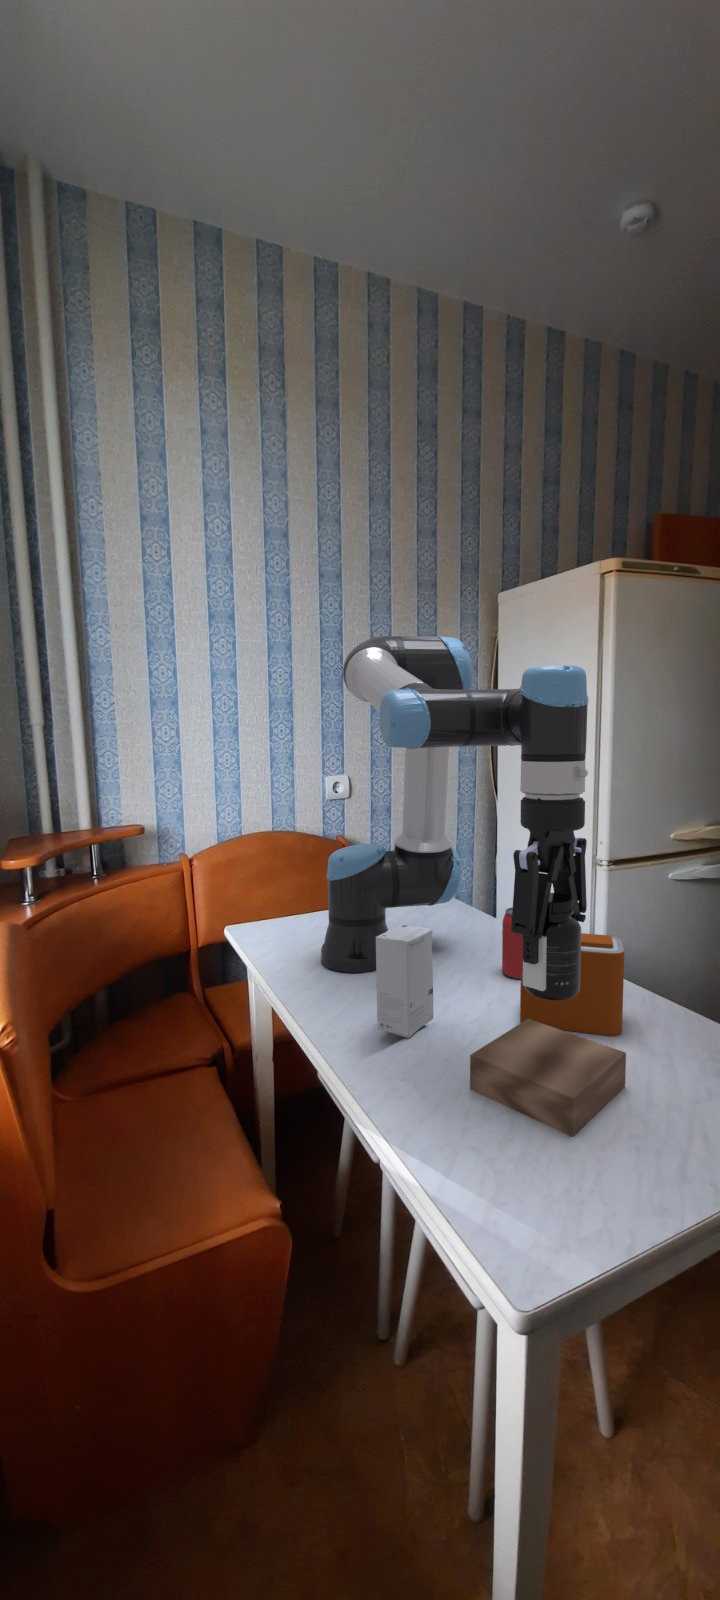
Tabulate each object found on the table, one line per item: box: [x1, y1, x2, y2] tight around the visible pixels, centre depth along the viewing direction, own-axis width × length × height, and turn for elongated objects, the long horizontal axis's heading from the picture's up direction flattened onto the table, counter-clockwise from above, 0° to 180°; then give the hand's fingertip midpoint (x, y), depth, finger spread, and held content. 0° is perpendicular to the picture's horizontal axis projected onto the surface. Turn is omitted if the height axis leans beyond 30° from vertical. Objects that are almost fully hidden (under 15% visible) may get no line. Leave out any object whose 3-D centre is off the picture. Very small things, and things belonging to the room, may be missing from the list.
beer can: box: [501, 906, 523, 980], centre depth 120 cm, size 7×7×12 cm
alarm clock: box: [519, 932, 625, 1037], centre depth 101 cm, size 15×8×14 cm, turn 72°
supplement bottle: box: [525, 892, 582, 1000], centre depth 80 cm, size 7×7×12 cm
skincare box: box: [375, 924, 434, 1039], centre depth 100 cm, size 8×6×15 cm
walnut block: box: [469, 1019, 627, 1138], centre depth 82 cm, size 14×14×5 cm
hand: (550, 978), depth 81 cm, fingers closed on supplement bottle, 7 cm apart
